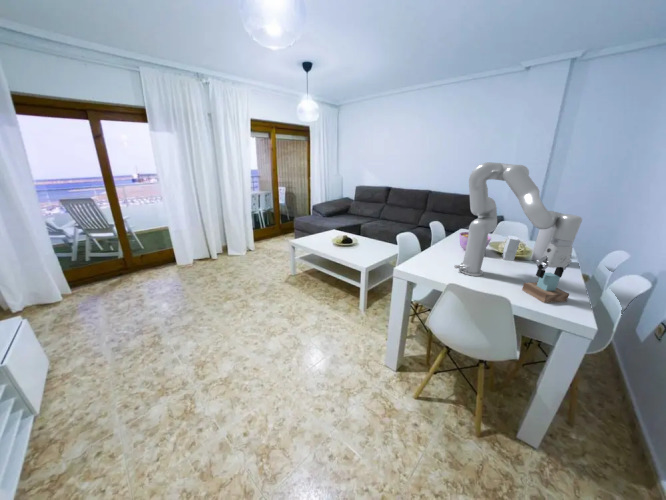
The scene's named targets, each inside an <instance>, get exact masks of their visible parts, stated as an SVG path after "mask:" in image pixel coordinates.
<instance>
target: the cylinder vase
mask: <svg viewBox="0 0 666 500" xmlns="http://www.w3.org/2000/svg"><path fill="white" fill-rule="evenodd" d="M554 230H555V227H550V228H548V229H539V230H538V234H537V236H536V241H535V244H534V247H533V249H532V253H531V256H530V260H532V261H533V262H536V263H537V260H538V259H540V258H542V257H543V254H544V252H545V250H546V248H547V246H548V245H549V244H550V241H551V238H552V235H553V233H554Z"/></svg>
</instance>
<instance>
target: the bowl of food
mask: <svg viewBox="0 0 666 500" xmlns="http://www.w3.org/2000/svg"><path fill="white" fill-rule="evenodd" d="M468 235H469V231H463V232H459V246H460V248H461V249H462V250H465V251H466V246H467V241H468ZM491 240H492V237H491V236H489V235H488V239H487V246H486V248H487V247H488V245H489V244H490V242H491Z"/></svg>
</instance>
